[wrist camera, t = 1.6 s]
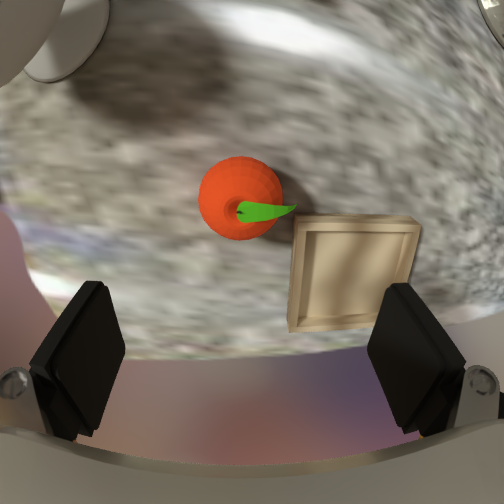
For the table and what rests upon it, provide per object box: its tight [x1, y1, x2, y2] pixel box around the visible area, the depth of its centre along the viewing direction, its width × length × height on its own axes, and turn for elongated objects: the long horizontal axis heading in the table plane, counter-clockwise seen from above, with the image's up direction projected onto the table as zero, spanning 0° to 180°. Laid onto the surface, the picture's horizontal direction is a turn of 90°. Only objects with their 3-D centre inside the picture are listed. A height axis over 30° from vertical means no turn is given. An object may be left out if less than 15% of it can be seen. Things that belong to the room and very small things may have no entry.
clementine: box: [198, 156, 297, 240], centre depth 24 cm, size 8×7×7 cm
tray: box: [287, 213, 421, 333], centre depth 30 cm, size 13×13×2 cm
